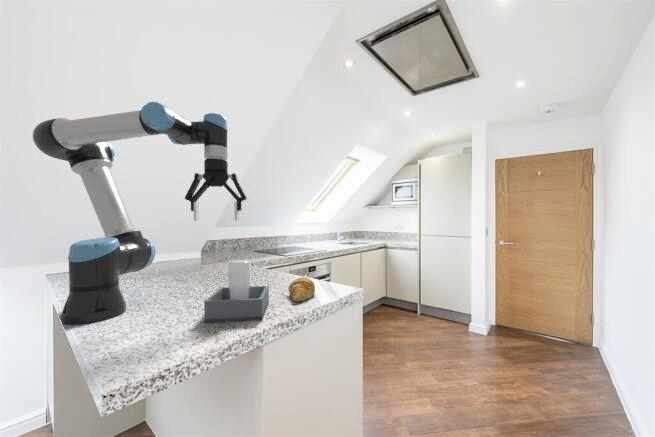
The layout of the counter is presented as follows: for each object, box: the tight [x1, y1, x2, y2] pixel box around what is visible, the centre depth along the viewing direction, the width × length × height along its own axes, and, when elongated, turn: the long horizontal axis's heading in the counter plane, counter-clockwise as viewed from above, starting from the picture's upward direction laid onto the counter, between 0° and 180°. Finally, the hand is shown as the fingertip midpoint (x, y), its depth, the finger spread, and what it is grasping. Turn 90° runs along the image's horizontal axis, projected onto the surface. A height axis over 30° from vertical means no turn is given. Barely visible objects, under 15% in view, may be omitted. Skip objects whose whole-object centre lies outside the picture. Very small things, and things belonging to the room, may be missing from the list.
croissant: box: [288, 276, 316, 303], centre depth 103 cm, size 21×10×8 cm, turn 175°
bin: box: [203, 285, 270, 324], centre depth 85 cm, size 16×16×6 cm
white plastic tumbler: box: [227, 258, 252, 299], centre depth 85 cm, size 7×7×15 cm
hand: (216, 220), depth 95 cm, fingers open, 13 cm apart
